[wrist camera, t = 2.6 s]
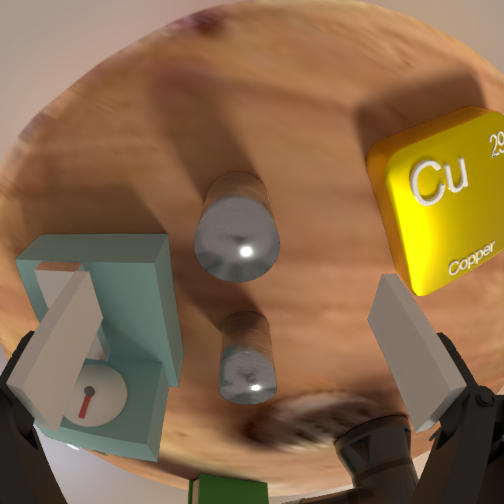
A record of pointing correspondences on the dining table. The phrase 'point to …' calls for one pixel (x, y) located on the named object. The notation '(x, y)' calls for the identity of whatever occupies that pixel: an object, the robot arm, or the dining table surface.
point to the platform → (51, 285)
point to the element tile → (441, 195)
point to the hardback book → (226, 491)
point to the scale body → (118, 339)
